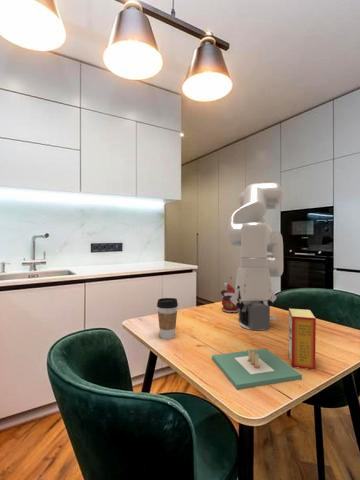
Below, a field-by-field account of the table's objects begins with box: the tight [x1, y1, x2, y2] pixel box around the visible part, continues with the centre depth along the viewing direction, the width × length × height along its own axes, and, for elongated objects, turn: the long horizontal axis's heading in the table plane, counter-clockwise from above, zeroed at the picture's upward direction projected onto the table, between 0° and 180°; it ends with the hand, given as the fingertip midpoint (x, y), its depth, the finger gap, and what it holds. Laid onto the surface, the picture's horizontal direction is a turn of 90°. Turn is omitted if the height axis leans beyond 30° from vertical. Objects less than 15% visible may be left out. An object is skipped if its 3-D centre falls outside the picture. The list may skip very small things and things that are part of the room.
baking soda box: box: [288, 307, 317, 370], centre depth 86 cm, size 10×6×16 cm
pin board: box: [211, 347, 303, 390], centre depth 82 cm, size 20×18×5 cm
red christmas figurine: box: [220, 276, 241, 313], centre depth 143 cm, size 11×9×18 cm
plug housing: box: [238, 300, 271, 331], centre depth 82 cm, size 6×8×7 cm, turn 15°
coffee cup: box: [156, 297, 179, 340], centre depth 108 cm, size 8×8×15 cm
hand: (253, 322), depth 82 cm, fingers closed on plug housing, 5 cm apart
